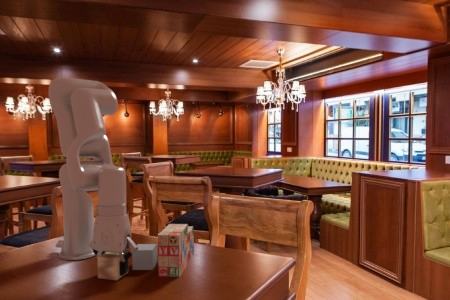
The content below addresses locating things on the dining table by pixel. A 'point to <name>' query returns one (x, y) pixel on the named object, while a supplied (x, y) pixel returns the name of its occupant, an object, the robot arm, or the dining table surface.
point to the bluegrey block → (145, 257)
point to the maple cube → (109, 266)
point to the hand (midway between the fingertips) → (113, 272)
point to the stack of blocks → (174, 249)
